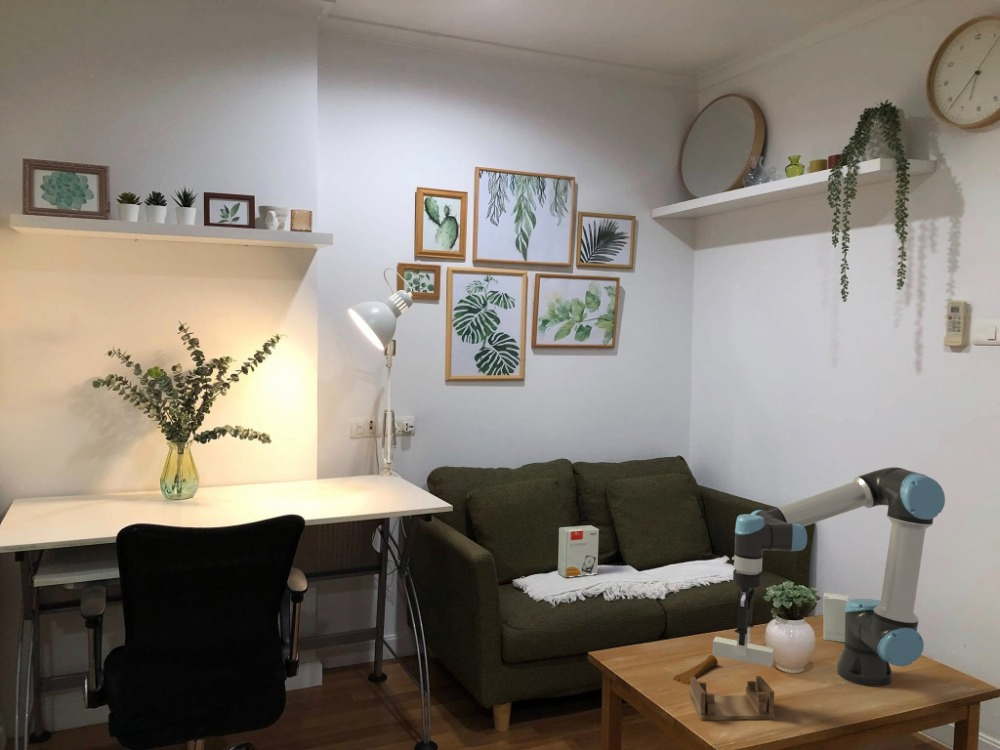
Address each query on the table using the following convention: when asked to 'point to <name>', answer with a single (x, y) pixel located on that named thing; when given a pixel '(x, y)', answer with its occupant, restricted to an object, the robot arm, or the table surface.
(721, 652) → the strip
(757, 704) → the rack
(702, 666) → the primitive tool
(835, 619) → the skincare box
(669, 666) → the table surface
